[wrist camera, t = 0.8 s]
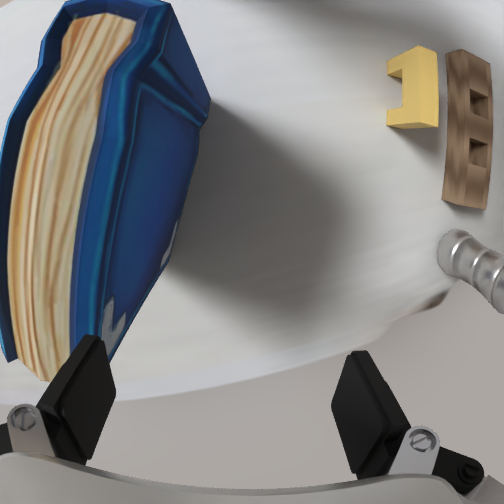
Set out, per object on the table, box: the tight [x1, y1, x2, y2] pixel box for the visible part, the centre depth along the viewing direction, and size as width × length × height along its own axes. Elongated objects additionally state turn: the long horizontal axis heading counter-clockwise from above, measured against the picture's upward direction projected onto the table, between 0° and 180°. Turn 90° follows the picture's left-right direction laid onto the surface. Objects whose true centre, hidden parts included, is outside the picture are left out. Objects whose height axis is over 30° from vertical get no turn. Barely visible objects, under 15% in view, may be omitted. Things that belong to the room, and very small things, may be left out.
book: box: [0, 0, 211, 382], centre depth 22 cm, size 22×7×25 cm, turn 162°
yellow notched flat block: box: [386, 45, 439, 129], centre depth 28 cm, size 9×2×8 cm, turn 177°
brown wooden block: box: [442, 49, 493, 210], centre depth 31 cm, size 22×6×4 cm, turn 177°
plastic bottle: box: [437, 229, 504, 314], centre depth 29 cm, size 6×7×20 cm
